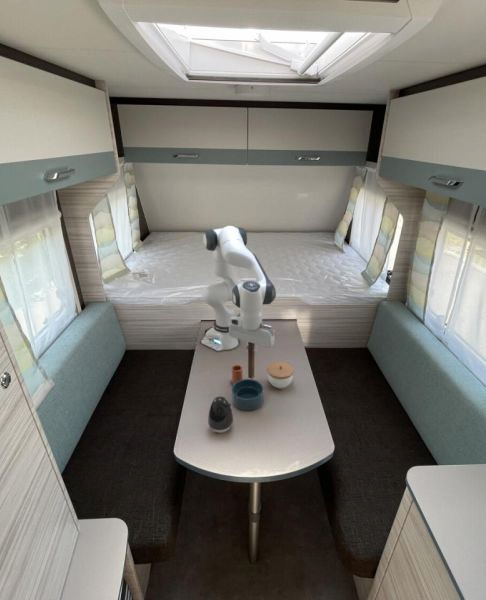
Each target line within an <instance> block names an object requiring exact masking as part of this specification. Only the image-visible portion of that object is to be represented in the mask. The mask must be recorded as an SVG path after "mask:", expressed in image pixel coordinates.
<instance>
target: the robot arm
mask: <svg viewBox="0 0 486 600" xmlns="http://www.w3.org/2000/svg"><path fill="white" fill-rule="evenodd" d="M203 233H204V234H203V238H202V241H203V245H204V247H205V249H206V250H207V251H211V252H212V269H213V273H214V276H217V277H218V278H221V279H222V282H218V283H212V284H210V285H207V286H206V287H204V288H203V289H202V291H201V297H202V300H203V302H204V303H205V304H206V305H209V306H211V307H212V309H213V310H214V315H215V321H214V322H213V323H212V324H211V326H210V327H208V328H206V329H205V330H204V334H205V335H204V337H203V338H202V339H201V344H202V345H204V346H206V347H209V348H210V349H213V350H215V351H217V352H222V351H227V350H233V349H234V348H237V347H238V345H239V340H240V341H242V343H243V345H244V346H245V347H244V349H245V350H247V351H248V342H251V343H254V344H255V346H254V347H253V348H252V351H254V353H257V351H258V348H259V346H262V347H265V348H268V349H269V348H272V347H273V346H274V345H275V343H276V341H275V332H276V331H275V328H274V327H272V325H269V324H268V325H267V324H265V323H263V311H262V308H263V305H271V304H272V303H273V302H274V300H276V296H277V290H276V287H275V285H274V283H273V282H272V281H271V279H270V278H269V276H268V275H267V273H266V271H265V269H264V267H263V266H262V264H261V262H260V260H259V258H258V257H257V255H256V254H255V253H254V252H251V251H250V250H249V249H248V248H247V246H246V245H247V244H248V234H247V231H246V229H245V228H244V227H240V226H239V227H236V226H233V225H226V226H224V227H221V228H214V229H213V228H210V229H207V230H205V231H204V232H203ZM235 267H239V268H243V269H246V270H249V271H250V272H251V273H252V274H253V276H254V278H255V280H256V281H255V280H254V281H253V280H248V281H244V282H243V280H241V279H239V277H238V276H237V274H236V272H235ZM230 301H232V304H233V305H234V306H236V307H237V308H239V309H240V312H238V313H236V312H235V309H234V307H232V306H231V305H227V303H228V302H230Z"/></svg>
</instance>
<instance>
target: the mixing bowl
mask: <svg viewBox="0 0 486 600" xmlns="http://www.w3.org/2000/svg"><path fill="white" fill-rule="evenodd" d="M264 393H265V389H264V385H263V384H262V383H261V382H259V381H258V380H255V379H254V378H253V379H251V378H243V380H240V381H238V382H236V383H235V384H234V385H233V384H232V387H231V402H232V404H233V406H234V407H235V408H236V409H238V410H240V411H243V412H244V411H245V412H251V411H255V410H258V409H259V408H261V407H262V405H263V404H264V398H265V397H264Z"/></svg>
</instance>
